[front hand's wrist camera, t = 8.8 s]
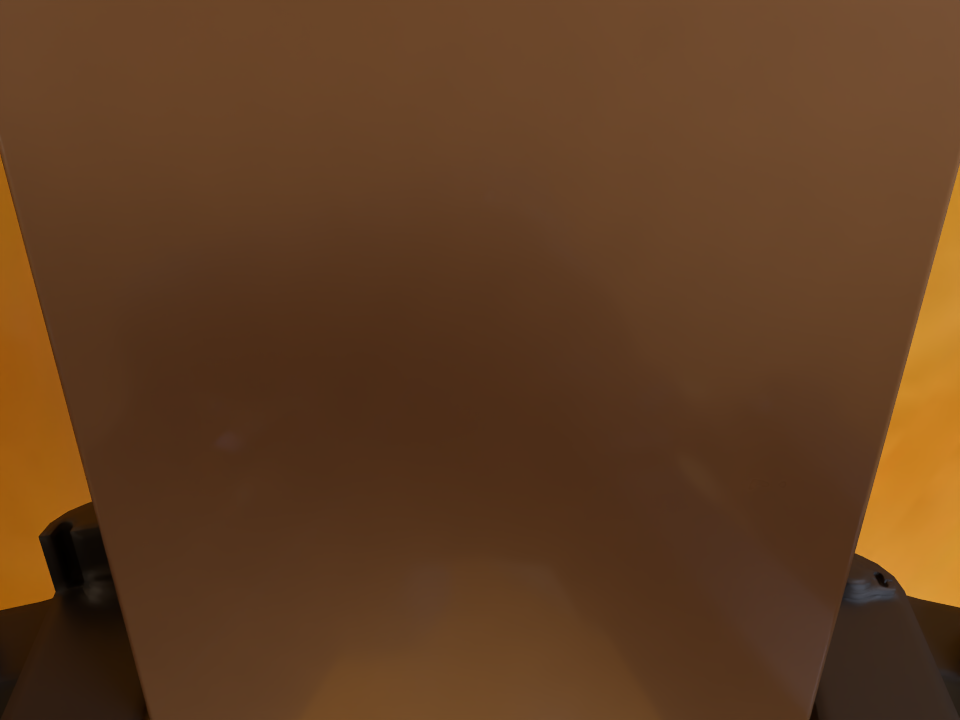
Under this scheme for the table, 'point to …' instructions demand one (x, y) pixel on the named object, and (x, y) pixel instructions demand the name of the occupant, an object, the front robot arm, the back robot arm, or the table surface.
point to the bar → (480, 335)
